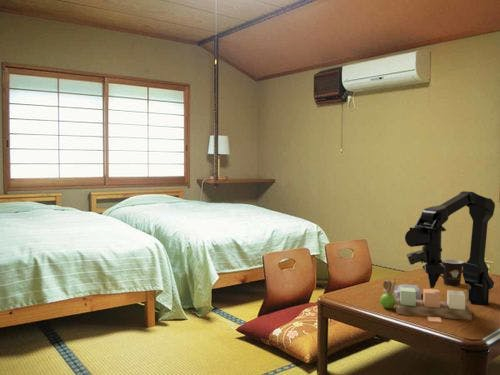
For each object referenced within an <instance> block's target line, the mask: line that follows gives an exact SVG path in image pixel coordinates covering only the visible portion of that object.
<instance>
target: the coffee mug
mask: <svg viewBox="0 0 500 375" xmlns="http://www.w3.org/2000/svg"><path fill="white" fill-rule="evenodd" d="M441 260H442V263H441V264H442V265H443V266H444V267H445V274H441V275H440V277H441V278H442V279H443V284H444V285H446V286H449V287H450V286H451V287H459V286H461V281H462V276H463V273H462V270H463V263H464V261H462V260H459V259H453V258H452V259H451V258H446V259H441Z"/></svg>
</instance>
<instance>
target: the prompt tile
mask: <svg viewBox="0 0 500 375" xmlns="http://www.w3.org/2000/svg"><path fill="white" fill-rule="evenodd" d="M427 321H428V322H429V323H438V324H439V323H440V324H441V323H443V321H442V317H430V316H427Z"/></svg>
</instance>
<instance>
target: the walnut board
mask: <svg viewBox="0 0 500 375" xmlns="http://www.w3.org/2000/svg"><path fill="white" fill-rule="evenodd" d="M395 299H396V303H395V305H394V307H395V311H396V312H395V313H396V314H397V315H406V316H407V315H408V316H417V317H419V316H420V317H438V318H441V319H455V320H456V319H457V320H469V321H472V319H473V318H472V317H473V315H472V313H473V312H472V311H471V309H470V308H469V307H468V305H467V304H466V302H465V310H462V309H449V307H448V305H447V301H442V300H440V308H436V307H425V306H424V303H423V299H421V300H417V299H416V306H410V305H401V303H400V298H397V297H395Z"/></svg>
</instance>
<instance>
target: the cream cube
mask: <svg viewBox="0 0 500 375" xmlns="http://www.w3.org/2000/svg"><path fill="white" fill-rule="evenodd" d="M446 291H447V292H446V294H447V295H446V296H447V297H446V302H447V305H448V307H449V309H462V310H465V303H466V294H465V292H464V291H463V290H449V289H448V290H446Z"/></svg>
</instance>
